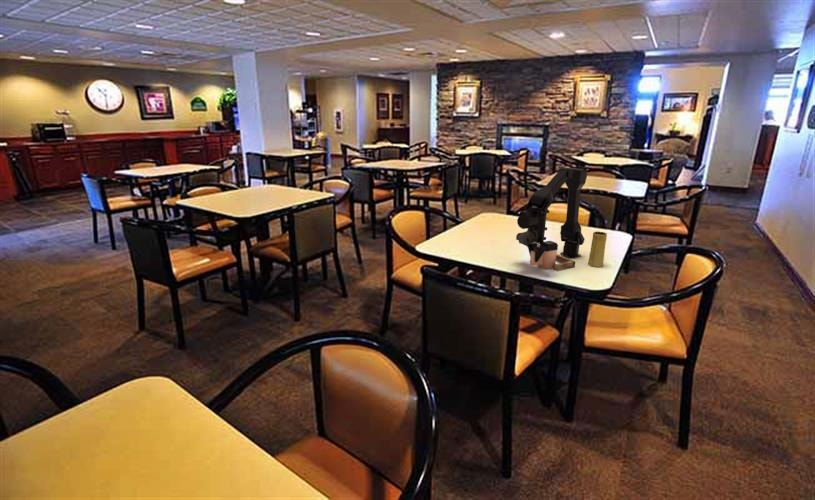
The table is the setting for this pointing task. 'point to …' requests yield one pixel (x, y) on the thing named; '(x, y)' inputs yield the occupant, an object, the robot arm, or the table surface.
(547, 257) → the pink block
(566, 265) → the walnut holder
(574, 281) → the table surface
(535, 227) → the robot arm
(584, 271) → the table surface
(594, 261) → the vase
